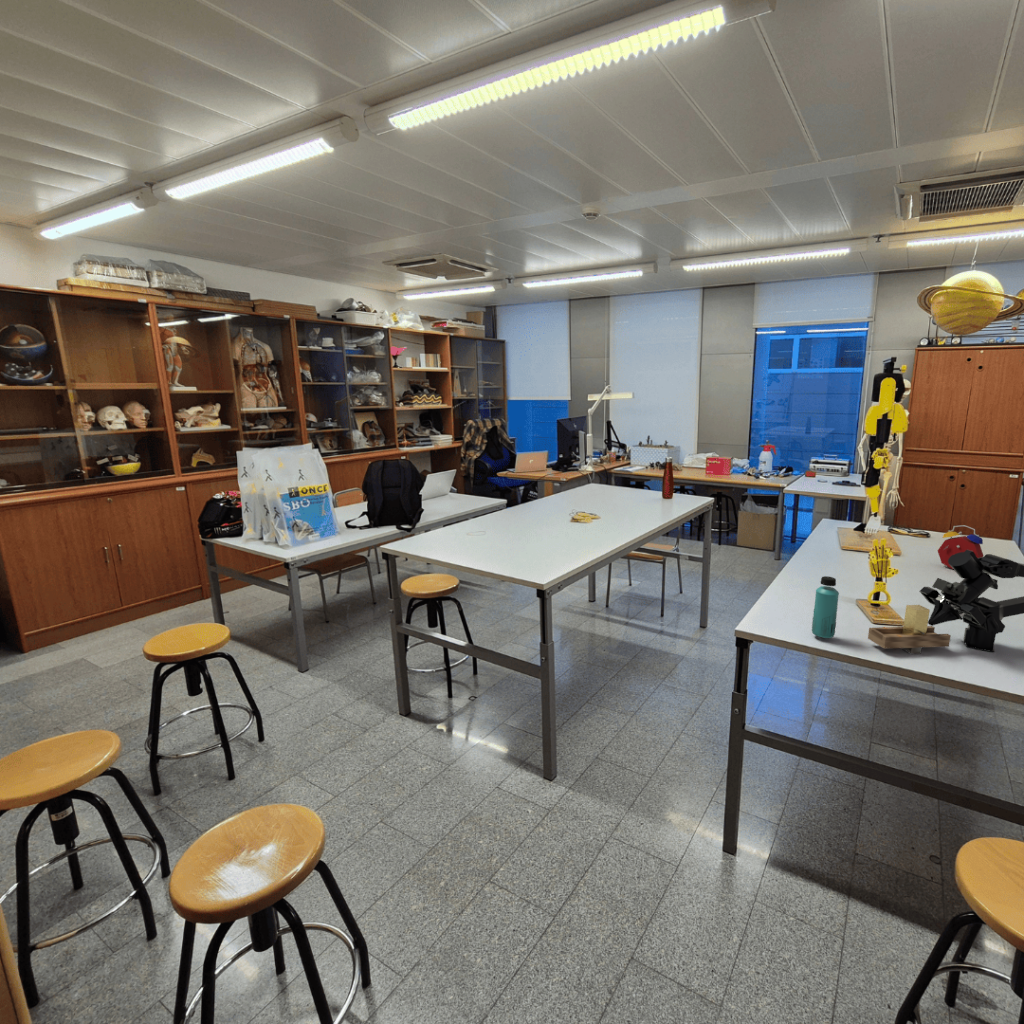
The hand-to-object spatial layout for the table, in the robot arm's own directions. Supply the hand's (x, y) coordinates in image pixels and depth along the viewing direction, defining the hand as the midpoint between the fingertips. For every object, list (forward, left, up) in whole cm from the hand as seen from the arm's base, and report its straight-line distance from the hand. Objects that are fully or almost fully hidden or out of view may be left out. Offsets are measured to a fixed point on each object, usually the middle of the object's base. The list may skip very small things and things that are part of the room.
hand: (929, 624), depth 165 cm
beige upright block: (+3, +3, -4) cm, 6 cm away
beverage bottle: (+27, +10, -8) cm, 29 cm away
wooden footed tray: (+5, +4, -8) cm, 10 cm away
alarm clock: (-14, -104, -8) cm, 106 cm away
